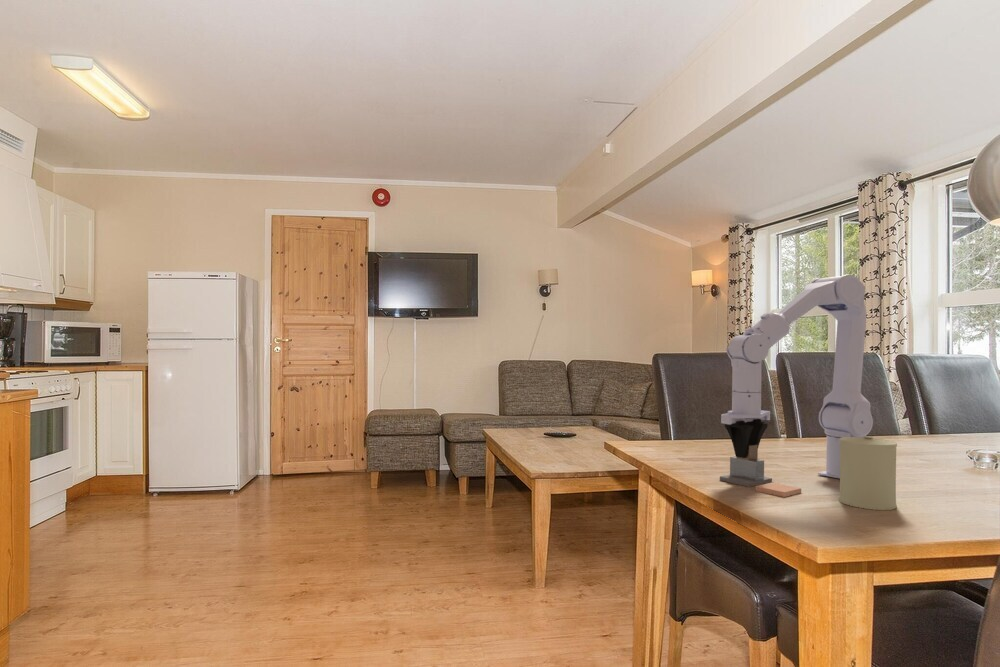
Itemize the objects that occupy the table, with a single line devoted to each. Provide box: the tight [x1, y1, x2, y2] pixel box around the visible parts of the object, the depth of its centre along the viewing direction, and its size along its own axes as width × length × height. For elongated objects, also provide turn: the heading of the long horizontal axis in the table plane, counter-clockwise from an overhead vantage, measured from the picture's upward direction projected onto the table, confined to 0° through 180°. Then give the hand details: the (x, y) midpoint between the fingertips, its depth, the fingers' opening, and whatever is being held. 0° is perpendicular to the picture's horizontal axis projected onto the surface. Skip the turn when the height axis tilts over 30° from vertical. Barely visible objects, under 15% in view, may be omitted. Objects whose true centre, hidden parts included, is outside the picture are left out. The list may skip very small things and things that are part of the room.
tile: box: [755, 481, 802, 498], centre depth 124 cm, size 1×6×6 cm
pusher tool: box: [729, 443, 765, 481], centre depth 132 cm, size 3×6×7 cm, turn 35°
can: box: [838, 436, 898, 511], centre depth 116 cm, size 9×9×12 cm
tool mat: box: [719, 474, 773, 488], centre depth 132 cm, size 8×7×1 cm
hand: (745, 456), depth 133 cm, fingers closed on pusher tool, 3 cm apart
